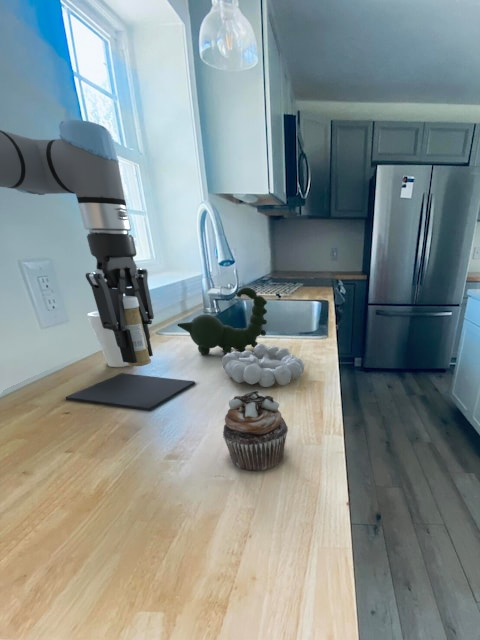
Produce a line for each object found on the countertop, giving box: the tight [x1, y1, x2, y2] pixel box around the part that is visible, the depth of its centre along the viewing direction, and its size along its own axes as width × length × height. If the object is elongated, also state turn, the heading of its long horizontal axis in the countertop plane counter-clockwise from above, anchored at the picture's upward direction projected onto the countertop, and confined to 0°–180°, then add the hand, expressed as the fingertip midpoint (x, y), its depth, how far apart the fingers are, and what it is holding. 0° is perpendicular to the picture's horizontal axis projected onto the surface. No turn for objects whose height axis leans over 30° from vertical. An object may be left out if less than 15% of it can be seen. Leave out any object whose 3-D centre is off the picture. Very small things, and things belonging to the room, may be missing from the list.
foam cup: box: [86, 310, 130, 368], centre depth 94 cm, size 10×9×13 cm
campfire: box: [221, 343, 306, 388], centre depth 89 cm, size 22×21×6 cm
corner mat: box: [65, 372, 196, 412], centre depth 80 cm, size 20×16×1 cm
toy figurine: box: [176, 287, 268, 356], centre depth 105 cm, size 9×19×25 cm
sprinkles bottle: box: [123, 295, 152, 367], centre depth 74 cm, size 5×5×14 cm
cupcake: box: [222, 390, 289, 472], centre depth 54 cm, size 10×10×10 cm
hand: (138, 358), depth 77 cm, fingers closed on sprinkles bottle, 4 cm apart
